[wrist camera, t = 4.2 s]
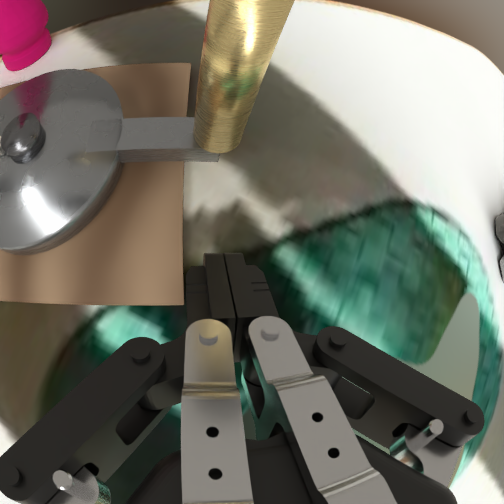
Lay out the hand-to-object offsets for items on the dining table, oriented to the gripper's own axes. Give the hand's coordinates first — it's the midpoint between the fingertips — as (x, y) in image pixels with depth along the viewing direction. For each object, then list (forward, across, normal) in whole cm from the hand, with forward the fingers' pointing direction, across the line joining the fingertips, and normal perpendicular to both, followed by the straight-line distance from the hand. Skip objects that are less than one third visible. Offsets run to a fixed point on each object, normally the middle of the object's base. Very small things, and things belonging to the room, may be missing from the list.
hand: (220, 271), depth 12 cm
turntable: (+10, +10, -2) cm, 14 cm away
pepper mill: (+24, +22, -13) cm, 35 cm away
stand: (+12, +13, -1) cm, 17 cm away
